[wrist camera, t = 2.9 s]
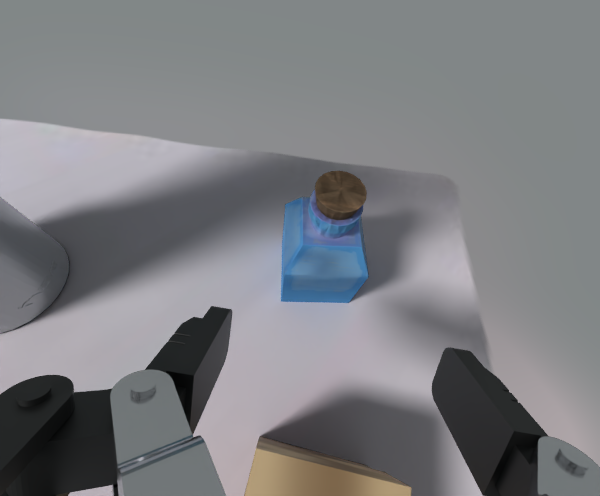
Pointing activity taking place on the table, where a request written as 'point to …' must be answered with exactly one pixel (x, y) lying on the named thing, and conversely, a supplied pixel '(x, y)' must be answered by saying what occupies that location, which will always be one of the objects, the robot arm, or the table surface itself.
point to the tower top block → (315, 476)
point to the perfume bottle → (325, 242)
